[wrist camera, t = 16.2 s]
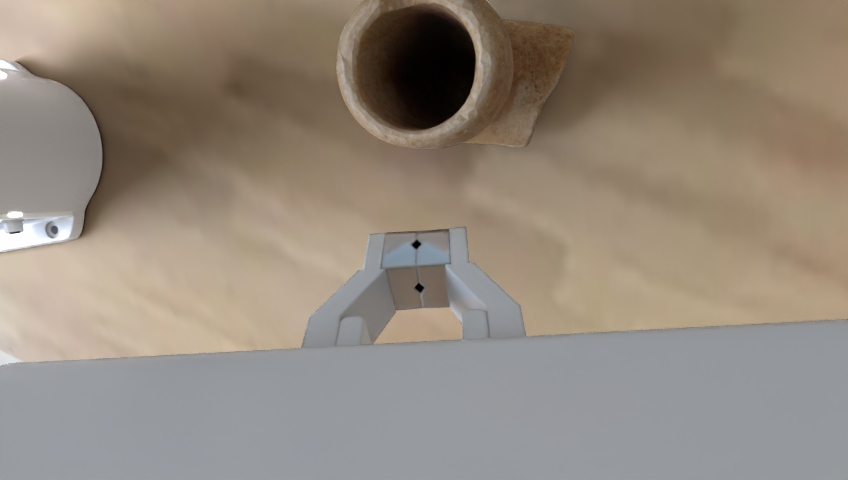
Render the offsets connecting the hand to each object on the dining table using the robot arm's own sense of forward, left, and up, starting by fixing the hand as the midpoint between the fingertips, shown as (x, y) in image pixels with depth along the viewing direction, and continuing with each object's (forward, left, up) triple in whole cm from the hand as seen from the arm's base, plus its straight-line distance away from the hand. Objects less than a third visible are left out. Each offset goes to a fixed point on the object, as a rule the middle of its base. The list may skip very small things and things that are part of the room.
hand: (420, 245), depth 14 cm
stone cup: (+3, +10, -26) cm, 27 cm away
